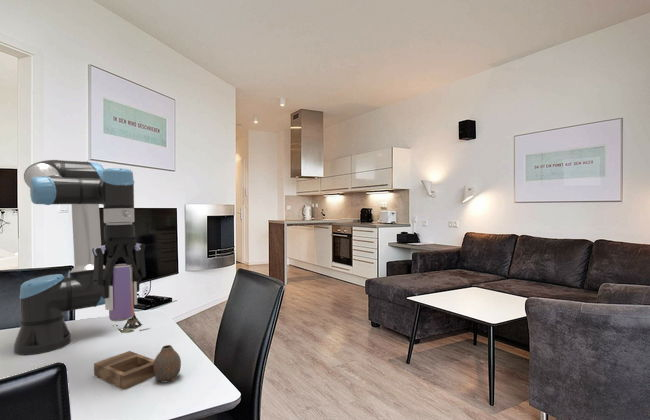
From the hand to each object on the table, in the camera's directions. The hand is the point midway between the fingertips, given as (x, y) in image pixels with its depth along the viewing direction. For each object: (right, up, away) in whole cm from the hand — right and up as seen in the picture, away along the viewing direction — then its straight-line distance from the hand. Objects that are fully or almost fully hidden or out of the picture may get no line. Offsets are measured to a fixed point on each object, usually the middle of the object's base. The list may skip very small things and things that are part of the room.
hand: (121, 306), depth 101 cm
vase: (+14, -19, -3) cm, 24 cm away
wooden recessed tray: (+2, -19, 0) cm, 19 cm away
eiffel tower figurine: (-19, -19, +40) cm, 49 cm away
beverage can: (0, -4, 0) cm, 4 cm away
